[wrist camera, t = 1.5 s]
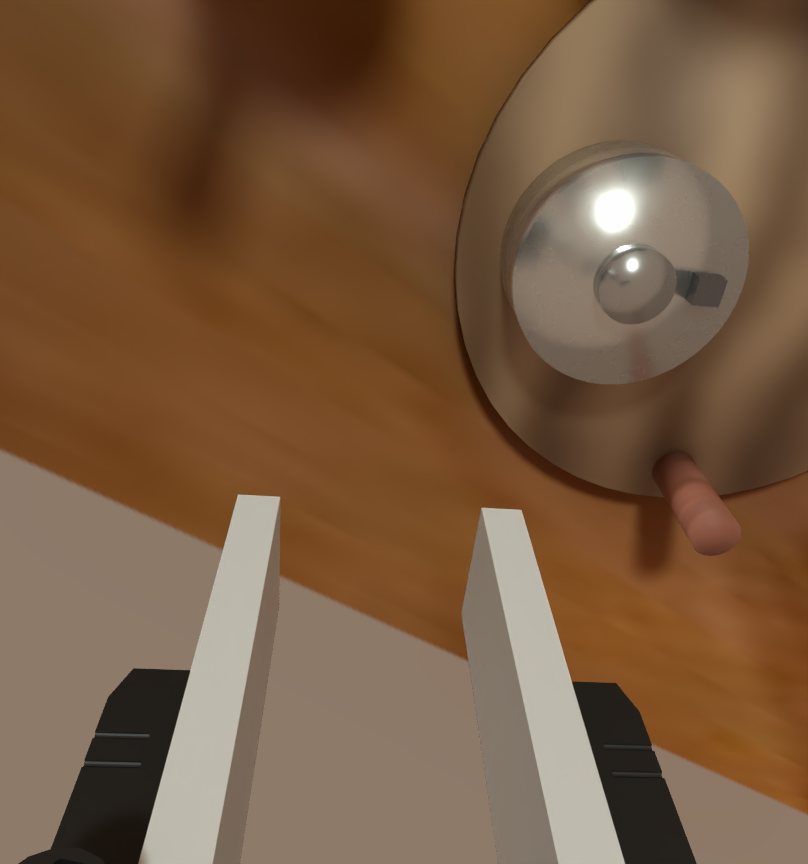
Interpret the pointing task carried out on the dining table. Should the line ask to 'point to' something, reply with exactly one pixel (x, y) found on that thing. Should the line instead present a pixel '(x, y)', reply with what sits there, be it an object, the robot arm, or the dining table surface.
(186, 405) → the dining table surface
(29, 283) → the dining table surface
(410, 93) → the dining table surface
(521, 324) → the cover
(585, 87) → the turntable
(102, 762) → the robot arm
